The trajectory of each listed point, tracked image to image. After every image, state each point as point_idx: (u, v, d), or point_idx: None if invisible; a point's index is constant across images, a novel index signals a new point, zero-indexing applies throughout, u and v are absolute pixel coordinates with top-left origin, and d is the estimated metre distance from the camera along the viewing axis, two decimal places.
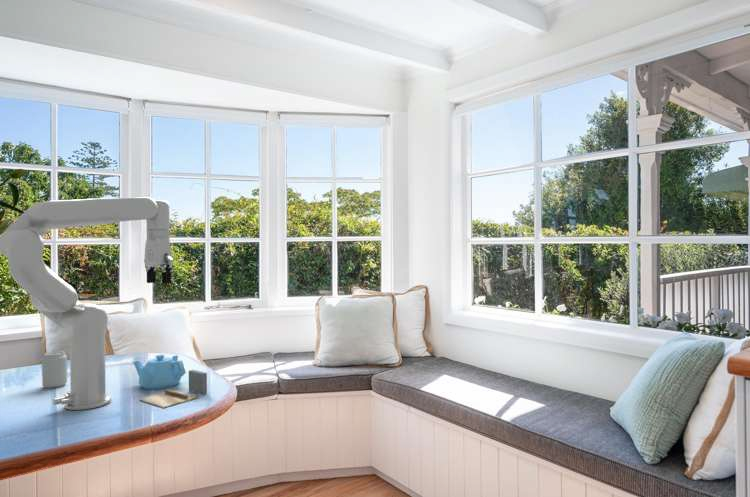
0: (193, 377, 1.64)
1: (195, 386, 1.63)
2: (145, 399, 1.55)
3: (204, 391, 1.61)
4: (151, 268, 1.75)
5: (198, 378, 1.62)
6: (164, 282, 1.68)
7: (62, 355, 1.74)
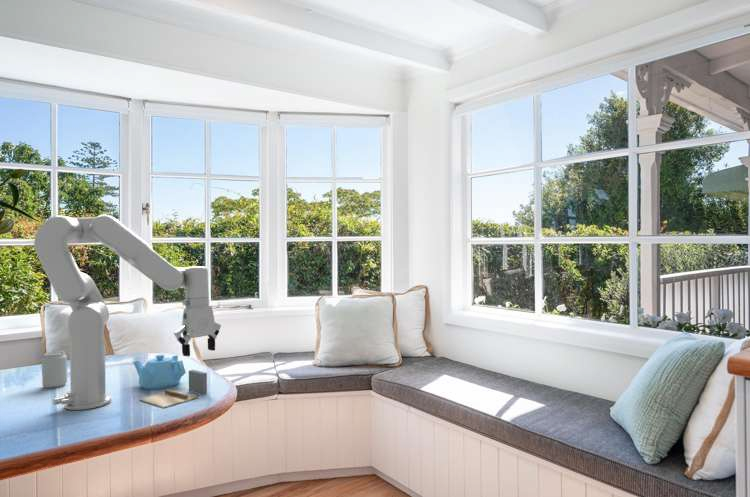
0: (193, 377, 1.64)
1: (195, 386, 1.63)
2: (145, 399, 1.55)
3: (204, 391, 1.61)
4: None
5: (198, 378, 1.62)
6: None
7: (62, 355, 1.74)
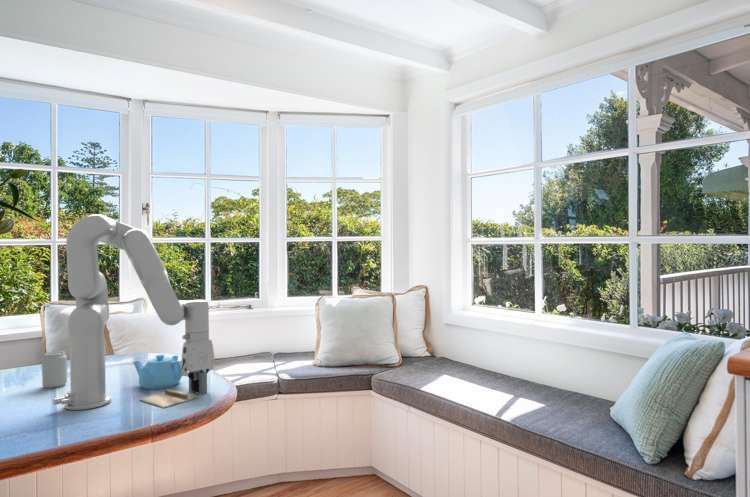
0: None
1: None
2: (145, 399, 1.55)
3: (204, 390, 1.61)
4: None
5: (198, 378, 1.62)
6: None
7: (62, 355, 1.74)
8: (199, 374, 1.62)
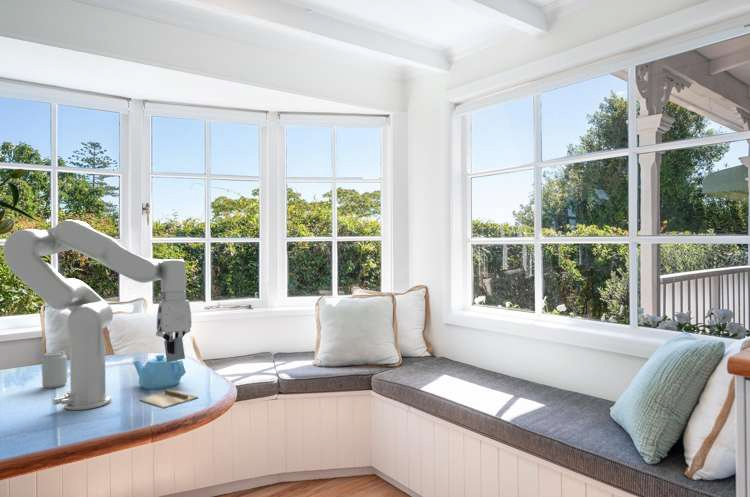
0: None
1: (172, 354, 1.57)
2: (145, 399, 1.55)
3: (182, 355, 1.55)
4: None
5: (174, 344, 1.56)
6: None
7: (62, 355, 1.74)
8: (174, 340, 1.56)
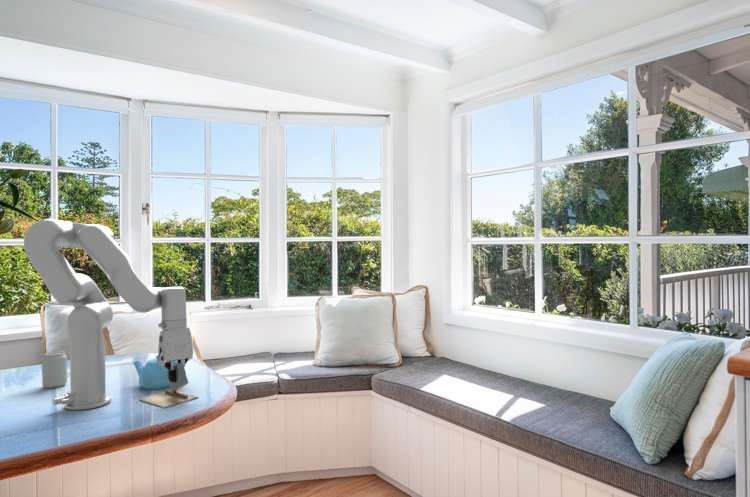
0: None
1: (175, 382, 1.57)
2: (145, 399, 1.55)
3: (185, 380, 1.55)
4: None
5: None
6: None
7: (62, 355, 1.74)
8: (175, 367, 1.57)
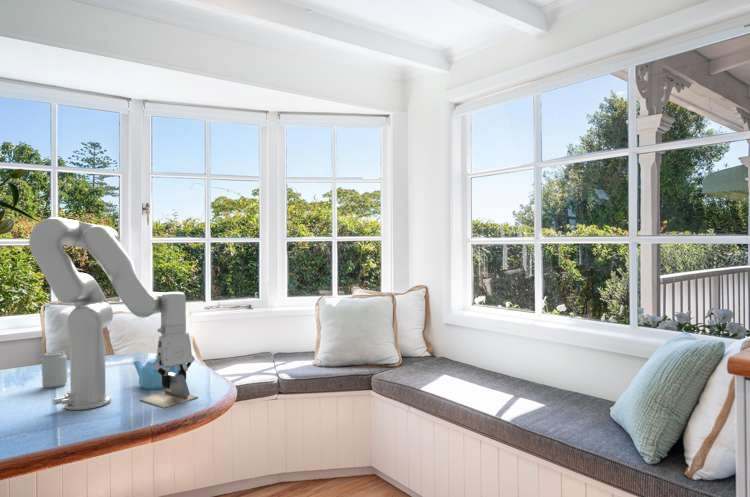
0: (172, 380, 1.55)
1: (176, 389, 1.55)
2: (145, 399, 1.55)
3: (186, 393, 1.53)
4: None
5: (177, 381, 1.53)
6: None
7: (62, 355, 1.74)
8: (176, 378, 1.53)
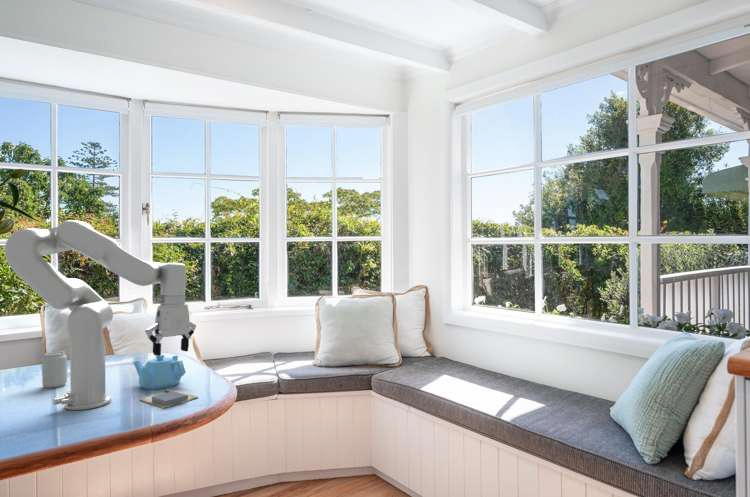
0: None
1: None
2: (145, 399, 1.55)
3: (183, 398, 1.52)
4: None
5: None
6: None
7: (62, 355, 1.74)
8: None
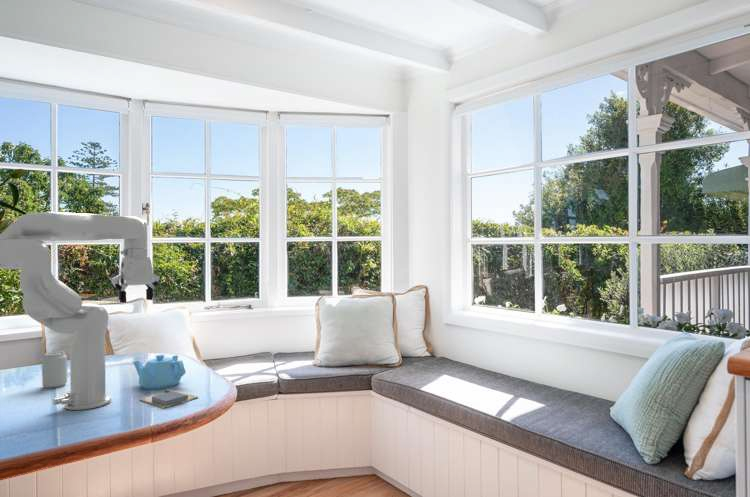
0: None
1: None
2: (145, 399, 1.55)
3: (183, 398, 1.52)
4: None
5: None
6: None
7: (62, 355, 1.74)
8: None
